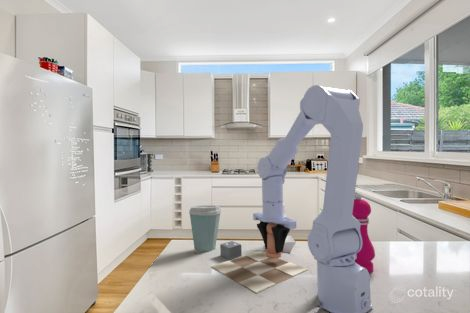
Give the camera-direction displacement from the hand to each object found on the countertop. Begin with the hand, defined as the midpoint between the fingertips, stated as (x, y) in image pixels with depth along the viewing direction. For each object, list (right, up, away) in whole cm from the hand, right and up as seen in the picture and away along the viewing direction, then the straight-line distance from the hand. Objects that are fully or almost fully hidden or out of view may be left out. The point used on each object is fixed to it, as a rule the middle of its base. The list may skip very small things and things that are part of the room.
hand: (274, 250), depth 72 cm
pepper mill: (+23, -4, -3) cm, 23 cm away
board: (-5, -5, -4) cm, 7 cm away
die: (-12, -5, +6) cm, 14 cm away
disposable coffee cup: (-20, -5, +13) cm, 25 cm away
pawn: (0, -1, 0) cm, 1 cm away
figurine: (+4, -5, +12) cm, 14 cm away
